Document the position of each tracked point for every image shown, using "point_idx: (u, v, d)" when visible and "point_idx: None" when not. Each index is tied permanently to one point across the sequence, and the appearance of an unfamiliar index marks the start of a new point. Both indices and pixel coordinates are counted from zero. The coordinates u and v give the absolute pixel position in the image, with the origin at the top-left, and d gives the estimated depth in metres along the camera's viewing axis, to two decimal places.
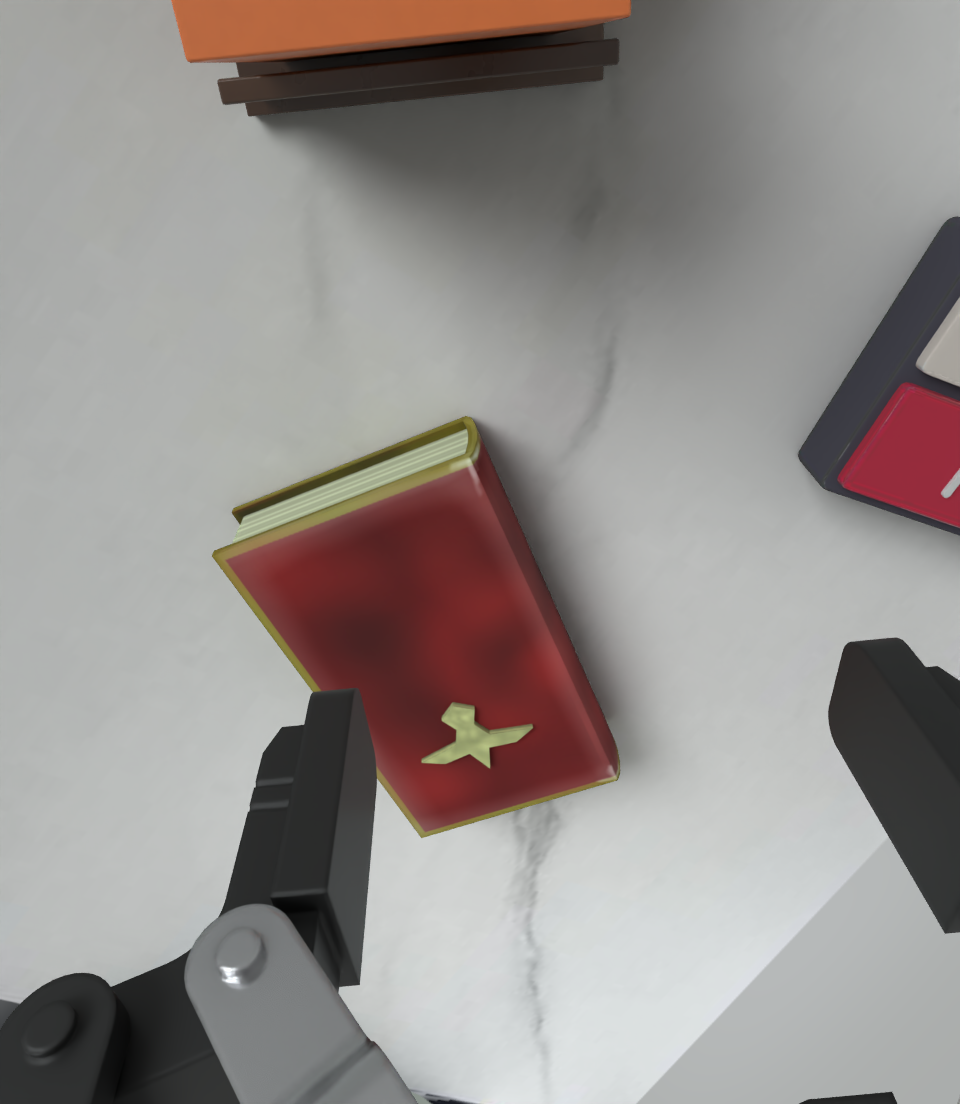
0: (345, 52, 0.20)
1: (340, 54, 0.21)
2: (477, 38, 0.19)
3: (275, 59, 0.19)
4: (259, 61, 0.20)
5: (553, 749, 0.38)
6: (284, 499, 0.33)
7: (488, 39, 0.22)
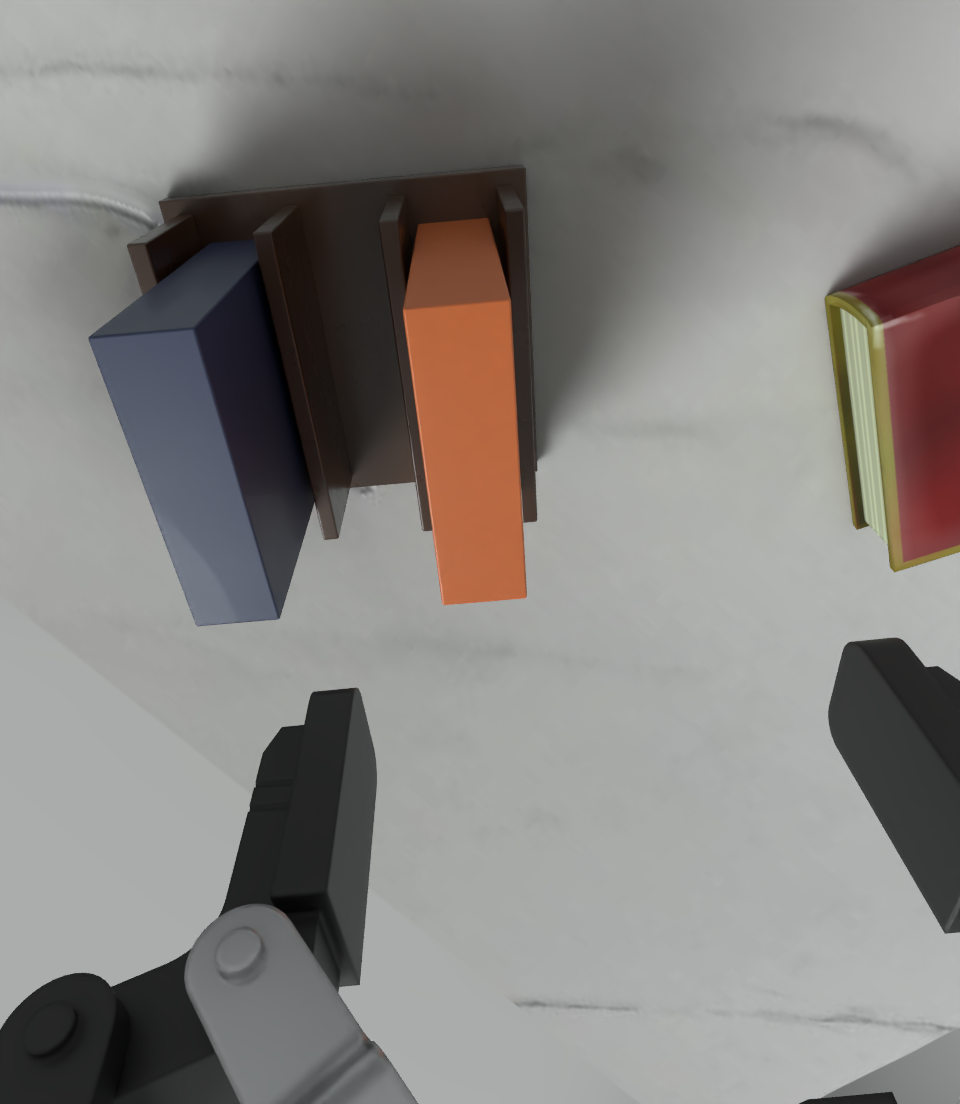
0: None
1: None
2: None
3: None
4: None
5: None
6: (859, 483, 0.34)
7: None
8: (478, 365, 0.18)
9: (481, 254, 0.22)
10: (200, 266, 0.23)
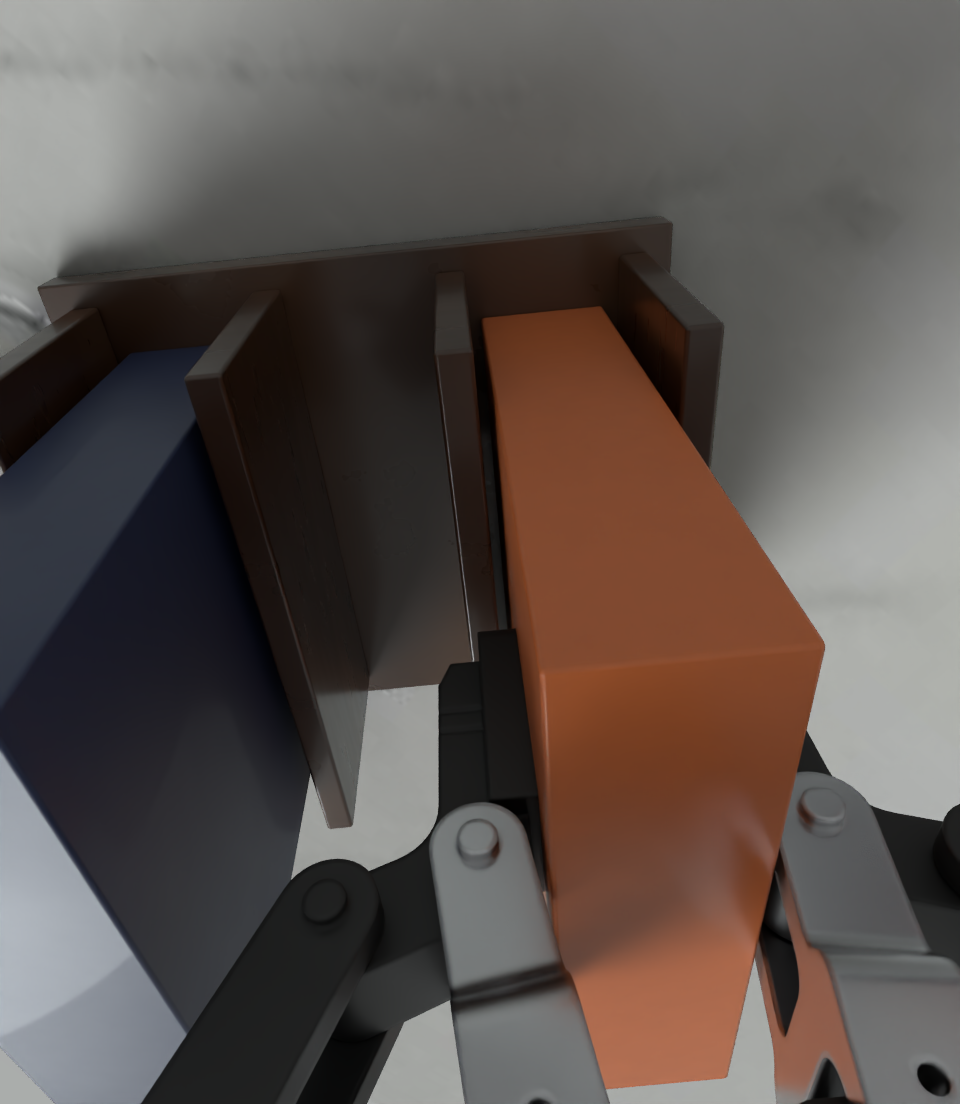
0: None
1: None
2: None
3: None
4: None
5: None
6: None
7: None
8: (714, 769, 0.07)
9: (642, 419, 0.11)
10: (93, 425, 0.12)
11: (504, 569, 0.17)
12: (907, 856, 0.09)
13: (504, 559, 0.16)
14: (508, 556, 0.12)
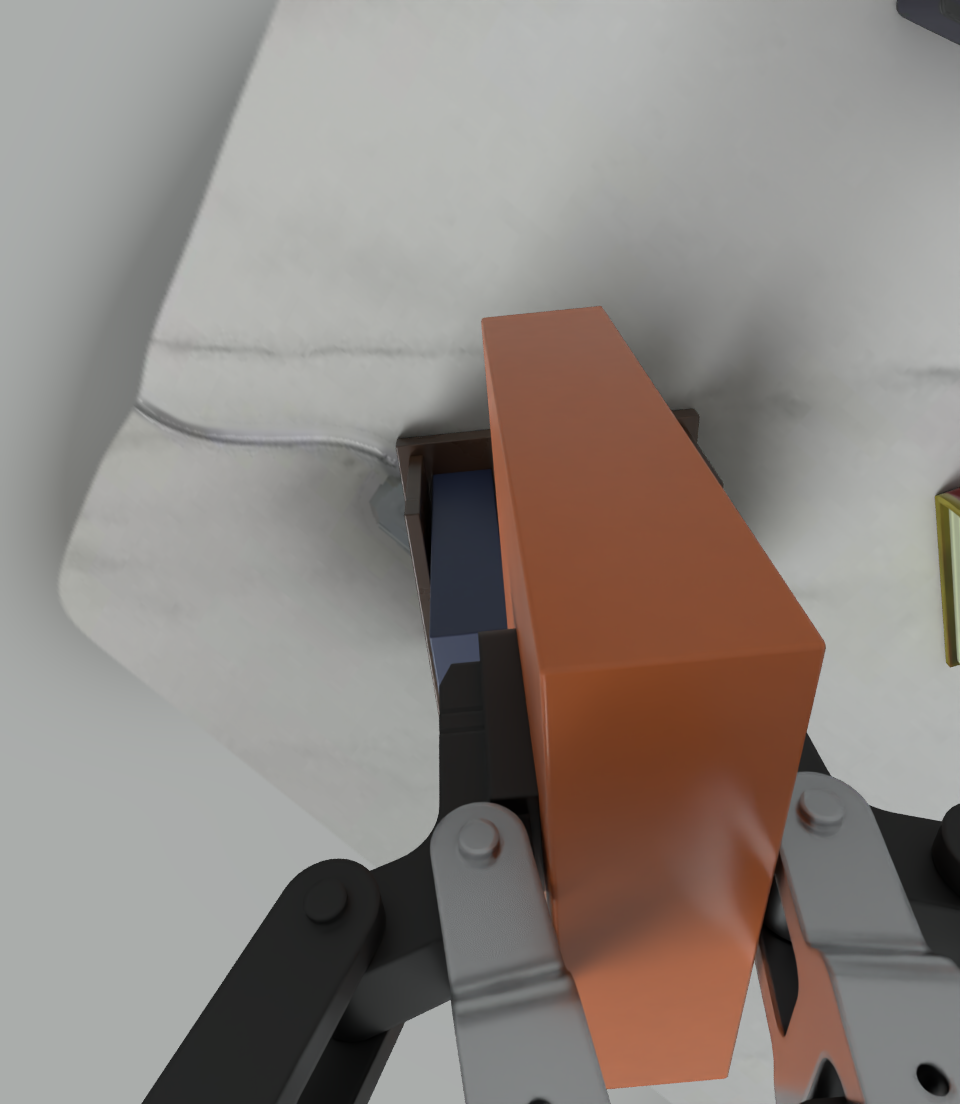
0: None
1: None
2: None
3: None
4: None
5: None
6: (954, 633, 0.39)
7: None
8: (713, 769, 0.07)
9: (642, 419, 0.11)
10: (451, 519, 0.29)
11: (504, 569, 0.17)
12: (906, 856, 0.09)
13: (504, 559, 0.16)
14: (508, 556, 0.12)
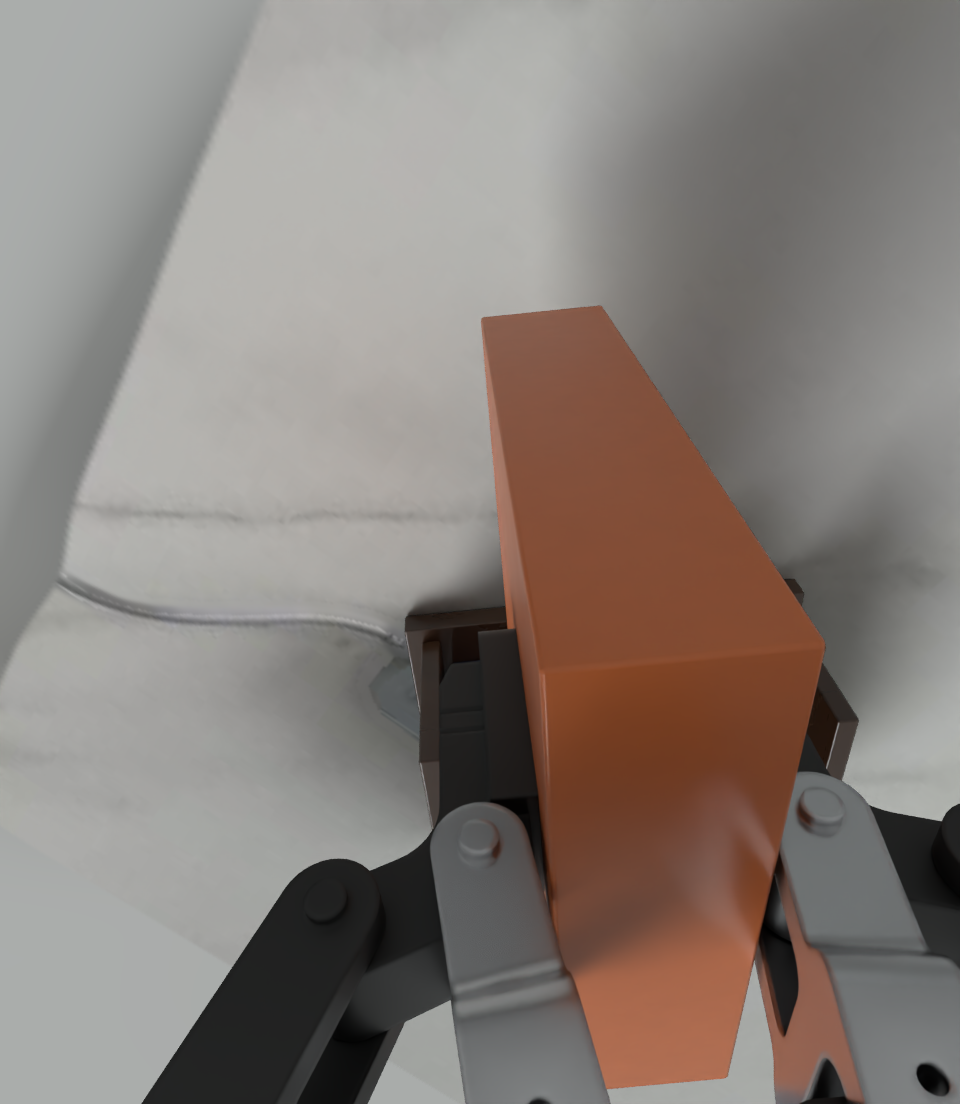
0: None
1: None
2: None
3: None
4: None
5: None
6: None
7: None
8: (713, 769, 0.07)
9: (642, 419, 0.11)
10: None
11: (504, 569, 0.17)
12: (906, 856, 0.09)
13: (504, 559, 0.16)
14: (508, 556, 0.12)
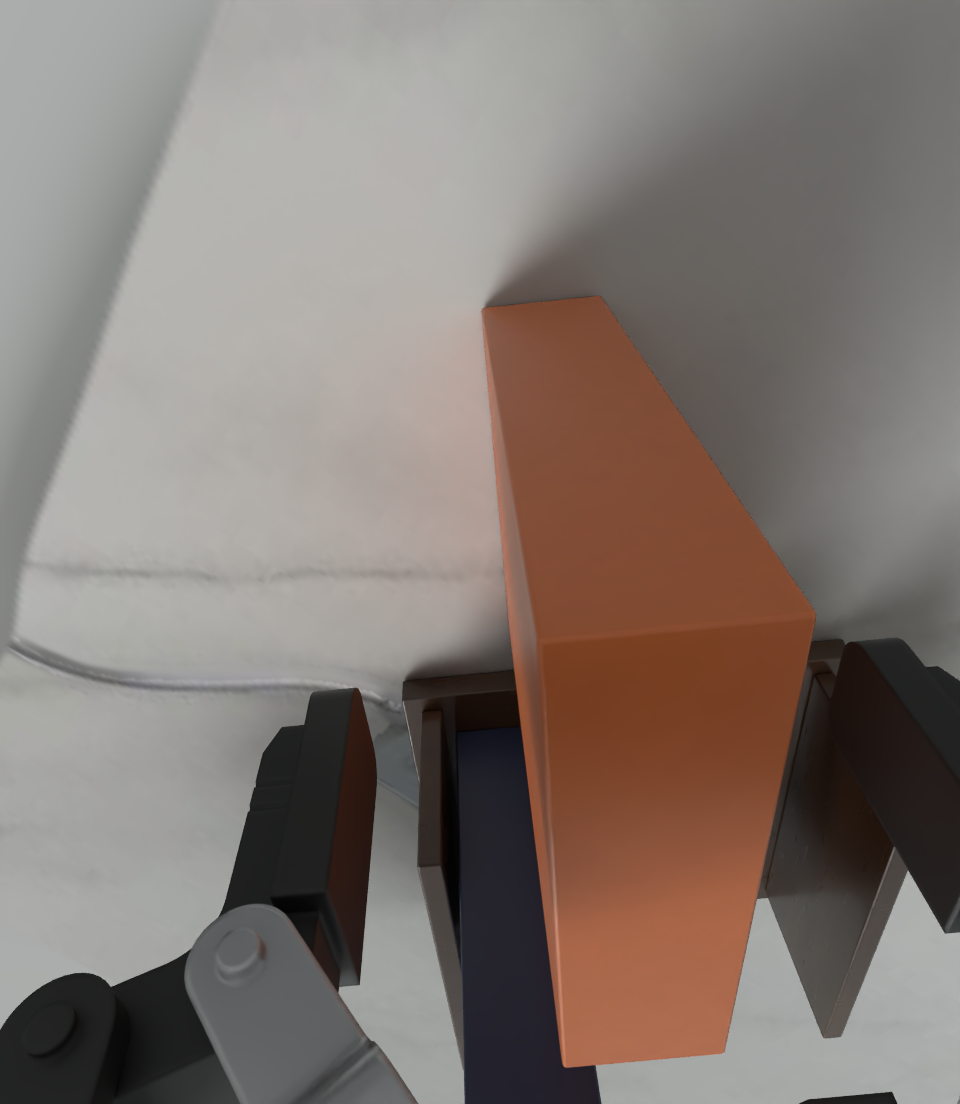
0: None
1: None
2: None
3: None
4: None
5: None
6: None
7: None
8: (707, 740, 0.08)
9: (639, 404, 0.11)
10: (489, 848, 0.19)
11: None
12: None
13: None
14: (508, 541, 0.13)
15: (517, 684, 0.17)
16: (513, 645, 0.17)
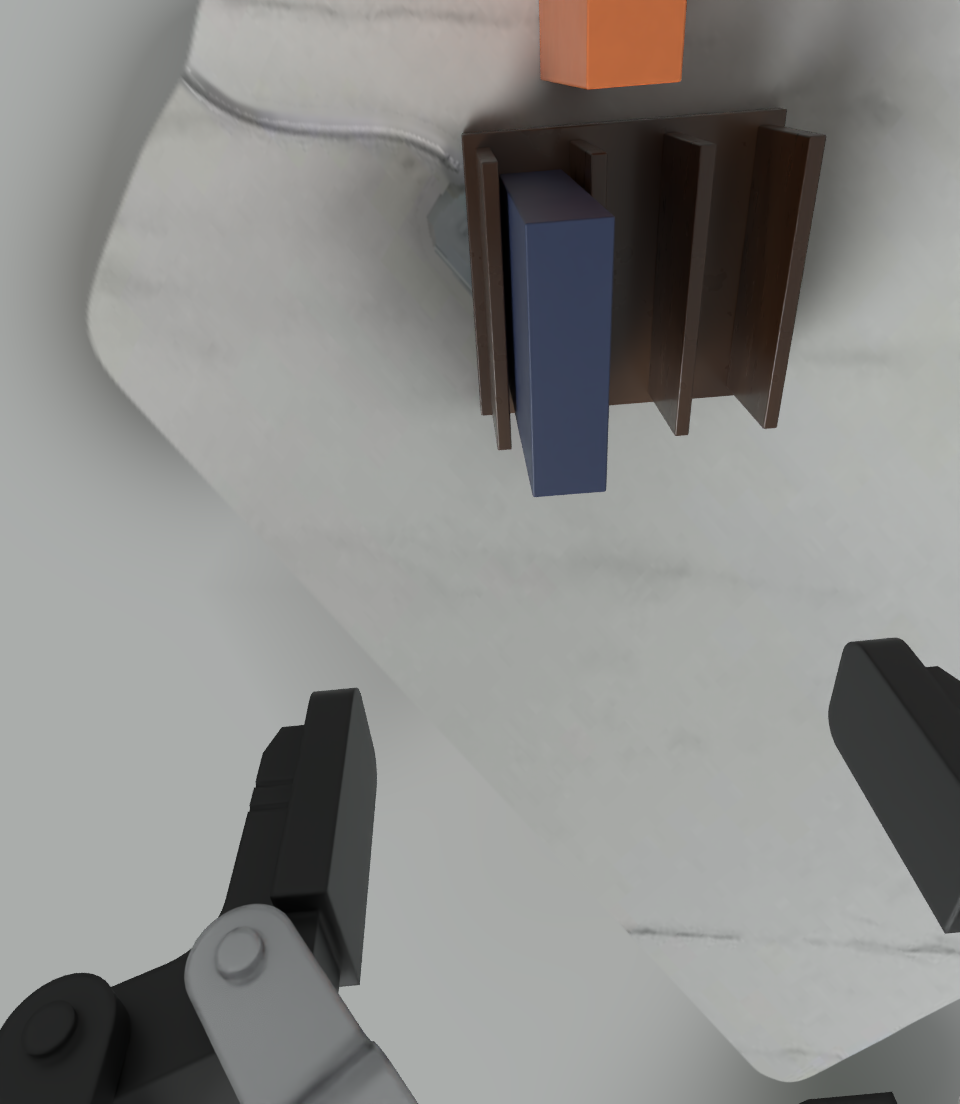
0: None
1: None
2: None
3: None
4: None
5: None
6: None
7: None
8: None
9: None
10: (527, 186, 0.27)
11: None
12: None
13: None
14: None
15: (551, 35, 0.25)
16: (549, 11, 0.25)
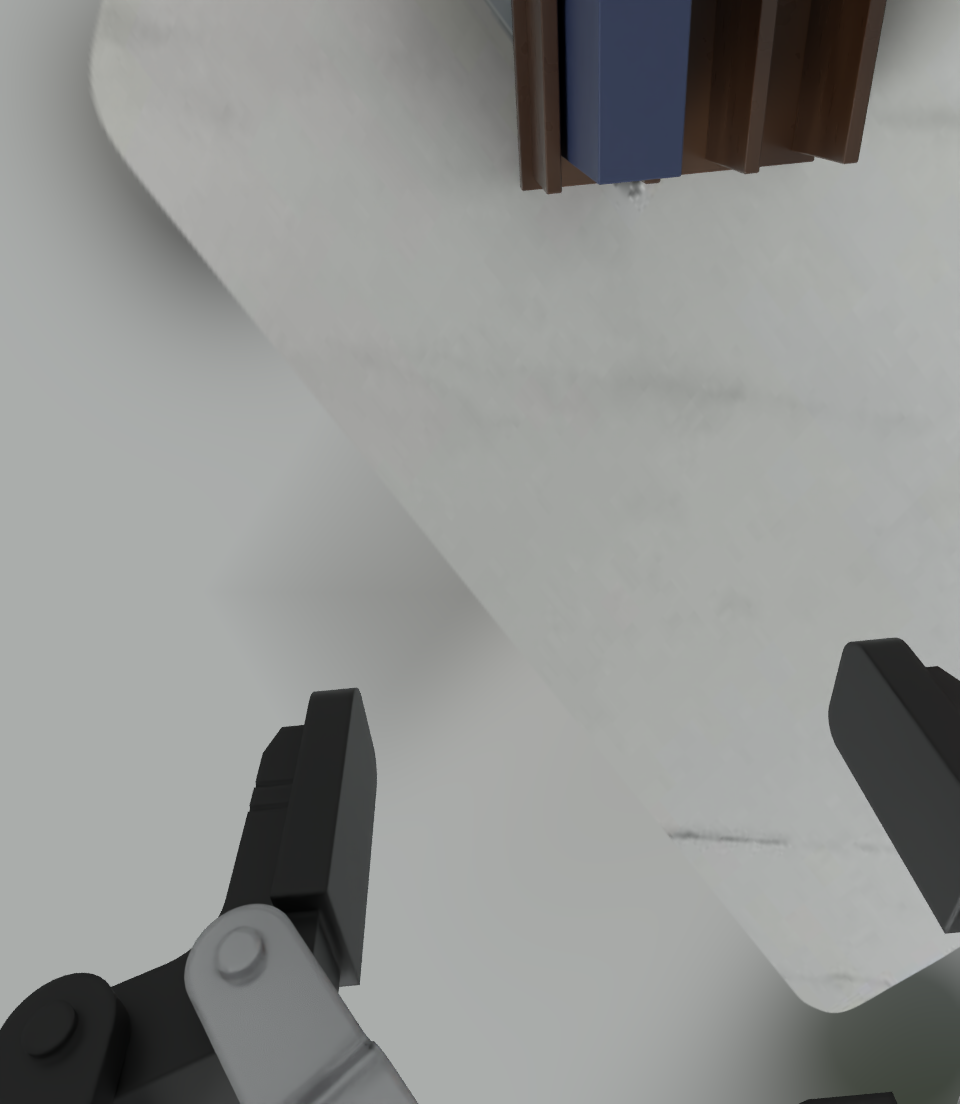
0: None
1: None
2: None
3: None
4: None
5: None
6: None
7: None
8: None
9: None
10: None
11: None
12: None
13: None
14: None
15: None
16: None
